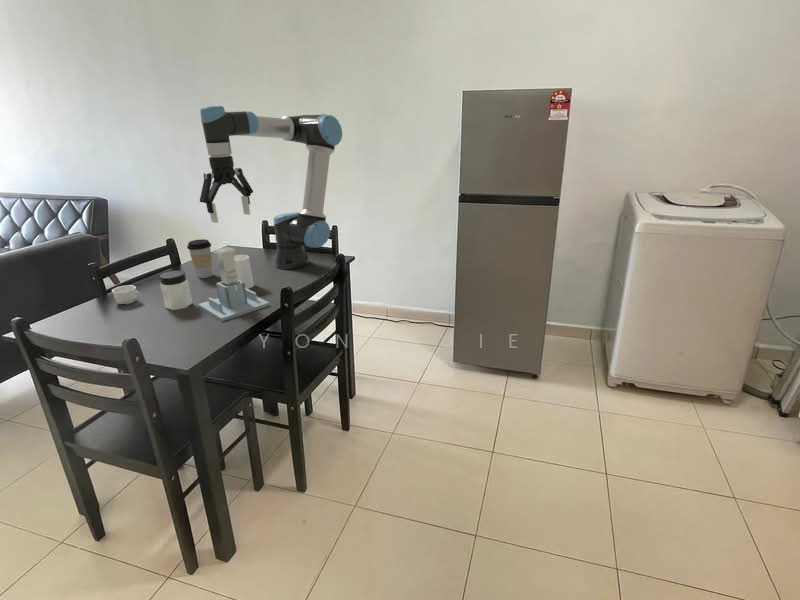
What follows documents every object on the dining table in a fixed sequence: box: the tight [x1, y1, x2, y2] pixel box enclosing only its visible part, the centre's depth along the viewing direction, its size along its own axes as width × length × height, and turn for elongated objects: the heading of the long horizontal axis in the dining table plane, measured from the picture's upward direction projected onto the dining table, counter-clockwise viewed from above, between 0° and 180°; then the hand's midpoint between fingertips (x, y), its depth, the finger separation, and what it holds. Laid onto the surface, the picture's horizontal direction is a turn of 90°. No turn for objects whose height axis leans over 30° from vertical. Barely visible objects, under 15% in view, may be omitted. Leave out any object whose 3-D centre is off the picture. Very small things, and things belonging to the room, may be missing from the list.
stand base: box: [197, 280, 271, 322], centre depth 161 cm, size 18×18×9 cm
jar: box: [159, 270, 193, 311], centre depth 162 cm, size 9×8×12 cm
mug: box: [234, 254, 255, 290], centre depth 178 cm, size 12×8×12 cm
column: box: [213, 246, 238, 287], centre depth 158 cm, size 5×5×20 cm
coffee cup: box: [186, 238, 213, 279], centre depth 191 cm, size 9×9×15 cm
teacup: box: [111, 284, 142, 305], centre depth 167 cm, size 10×8×5 cm
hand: (231, 218), depth 161 cm, fingers open, 13 cm apart
